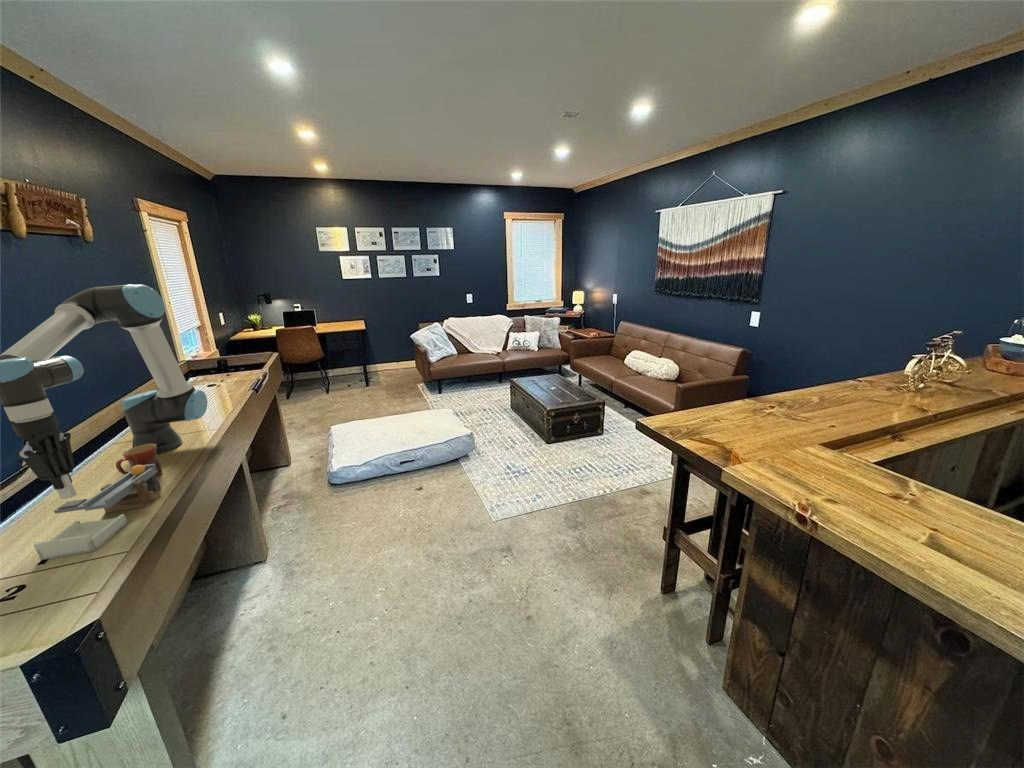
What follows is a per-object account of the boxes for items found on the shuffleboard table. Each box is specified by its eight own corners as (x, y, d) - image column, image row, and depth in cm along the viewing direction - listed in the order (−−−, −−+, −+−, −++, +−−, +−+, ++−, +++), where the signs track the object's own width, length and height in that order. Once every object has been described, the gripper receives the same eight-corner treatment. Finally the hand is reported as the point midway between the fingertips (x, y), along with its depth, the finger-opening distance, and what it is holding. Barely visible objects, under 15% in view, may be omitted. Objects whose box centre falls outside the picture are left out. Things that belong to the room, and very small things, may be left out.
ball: (137, 473, 126) (134, 463, 125) (149, 471, 127) (146, 462, 126) (130, 478, 123) (126, 468, 122) (142, 476, 123) (138, 467, 122)
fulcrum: (132, 491, 128) (124, 471, 126) (171, 486, 130) (164, 465, 128) (104, 512, 117) (95, 490, 115) (148, 506, 119) (139, 484, 117)
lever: (108, 478, 126) (105, 470, 125) (158, 471, 128) (154, 463, 127) (51, 515, 107) (47, 506, 106) (110, 507, 110) (106, 497, 109)
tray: (80, 530, 109) (73, 516, 108) (127, 523, 111) (122, 509, 110) (41, 559, 98) (33, 544, 97) (94, 551, 100) (87, 536, 99)
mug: (152, 469, 143) (143, 443, 140) (172, 469, 141) (162, 443, 138) (115, 487, 132) (103, 459, 129) (135, 488, 130) (124, 460, 127)
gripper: (39, 411, 108) (73, 486, 115) (-11, 429, 96) (30, 512, 103) (71, 407, 109) (103, 482, 116) (25, 425, 97) (63, 508, 104)
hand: (68, 496), depth 110 cm, fingers closed
